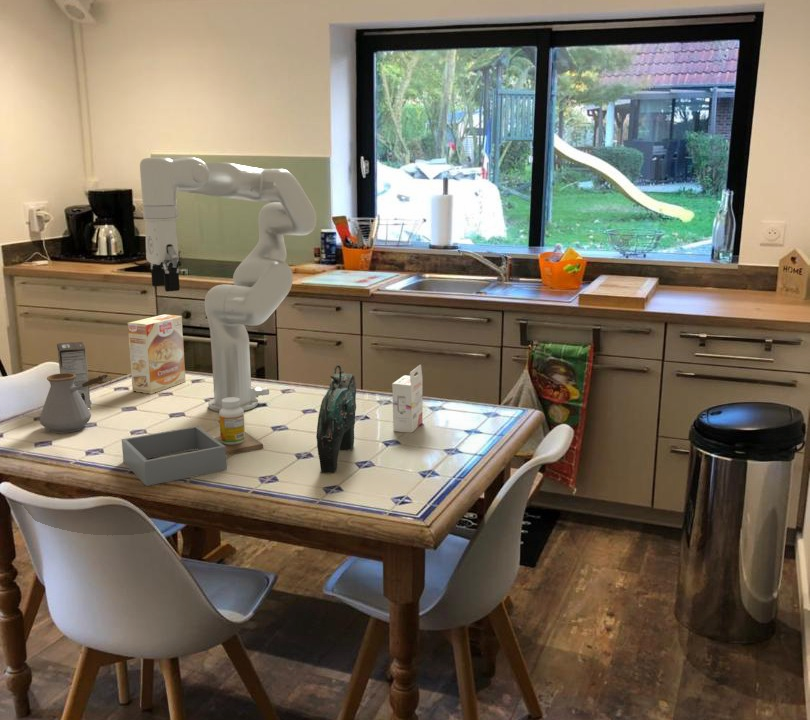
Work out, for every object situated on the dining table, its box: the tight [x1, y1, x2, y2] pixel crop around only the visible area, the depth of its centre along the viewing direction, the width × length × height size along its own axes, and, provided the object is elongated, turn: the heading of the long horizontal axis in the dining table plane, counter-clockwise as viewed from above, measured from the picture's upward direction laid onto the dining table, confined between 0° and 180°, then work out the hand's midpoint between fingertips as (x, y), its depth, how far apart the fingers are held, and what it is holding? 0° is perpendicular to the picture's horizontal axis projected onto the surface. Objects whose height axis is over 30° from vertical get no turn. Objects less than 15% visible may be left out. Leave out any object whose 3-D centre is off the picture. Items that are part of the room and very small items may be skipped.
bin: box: [121, 425, 228, 487], centre depth 176 cm, size 17×17×5 cm
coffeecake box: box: [127, 313, 186, 395], centre depth 237 cm, size 15×7×20 cm, turn 155°
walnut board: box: [214, 431, 264, 456], centre depth 189 cm, size 10×10×1 cm
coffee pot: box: [39, 373, 112, 434], centre depth 198 cm, size 21×12×15 cm, turn 62°
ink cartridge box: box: [391, 364, 424, 434], centre depth 200 cm, size 9×5×15 cm, turn 161°
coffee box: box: [56, 341, 92, 409], centre depth 219 cm, size 9×6×16 cm
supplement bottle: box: [218, 397, 246, 445], centre depth 188 cm, size 5×5×10 cm
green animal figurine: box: [315, 364, 357, 474], centre depth 179 cm, size 20×6×20 cm, turn 170°
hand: (165, 288), depth 196 cm, fingers open, 9 cm apart
